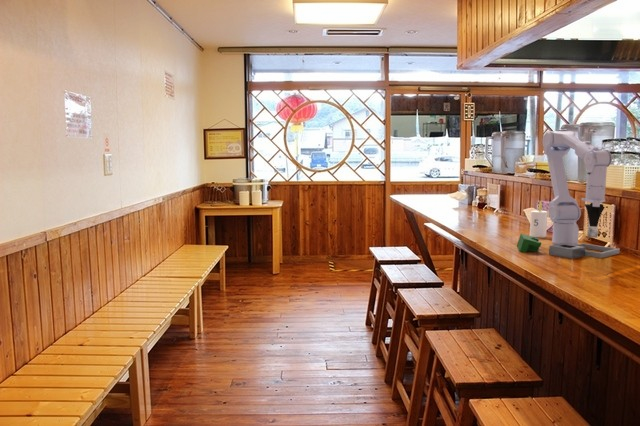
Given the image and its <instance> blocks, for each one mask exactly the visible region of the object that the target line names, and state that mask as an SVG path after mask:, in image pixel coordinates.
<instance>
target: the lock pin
mask: <svg viewBox="0 0 640 426" xmlns="http://www.w3.org/2000/svg"><path fill="white" fill-rule="evenodd" d="M587 220H588V221H587V222H588V223H587V238H598V234H599V231H598V230H599V224H598V225H597V227H594V226H590V224H589V217H588V216H587Z"/></svg>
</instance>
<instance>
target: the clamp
mask: <svg viewBox="0 0 640 426" xmlns="http://www.w3.org/2000/svg"><path fill="white" fill-rule="evenodd" d="M539 239H540V238H539V237H532V236H530V235H528V234H526V233H525V234H524V233H520V235H519V239H518V241H517V245H516V247H517V250H518V252H519V253H527V252H539V250H540V247H541V246H542V241H540V240H539Z"/></svg>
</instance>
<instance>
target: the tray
mask: <svg viewBox="0 0 640 426" xmlns="http://www.w3.org/2000/svg"><path fill="white" fill-rule="evenodd" d="M577 246H583V247H585V256H586V257H591V258H598V259H603V258H606V257H610V256H615V255H619V254H620V248H616V247H610V246H602V245H596V244H590V243H583V242H582V243H578V244H577ZM587 249H588V250H587ZM591 250H594V251H591ZM596 251H597V252H596ZM598 251H600V252H598Z"/></svg>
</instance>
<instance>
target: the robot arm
mask: <svg viewBox="0 0 640 426" xmlns="http://www.w3.org/2000/svg"><path fill="white" fill-rule="evenodd" d="M542 146H543V147H542V148H543V152H544V155H545V156H546V158H547V163H548V169H549V175H550V180H551V186H552V190H553V195H554V196H553V197H554V198H553V199H552V200H550V202H549V203H548V217H549V219H550V220H551V222H552V224H553V225H552V226H553V227H552V238H551V239H552V240H551V243H552V244H554V245H556V244H561V243H565V244H571V245H577V244H579V234H580V233H579V230H580V229H579V225H578V224H577V223H578V222H577V221H579V220H580V218H581V215H582V211H581V208H580V206H579V204H578V200H577V199H576V198H574V197H572V196H571V195H570V190H569V185H568V181H567V176H566V170H565V169H566V168H565V165H564V161H563V157H564V156H566V155H567V154H568V153H569V151H571V149H573V150H574V154H575V155H576V156H577V157H579V158H580V159H581V160H583V162H584V167H585V172H586V188H585V198H583V197H581V199H580V201H583V202H584V201H585V202H588V203H589V204H588V203H587V204H586V203H585V204H584V206H585V208H586V213H587V218H588V217H589V224H590V226H594V227H597V225H598V226H599V222H600V221H599V220H600V219H601V215H602V213H603V211H604V210H605V206H604V204H603V203H605V202H606V199H605V197H606V185H607V184H606V182H607V173H608V171H607V170H608V169H607V168H608V167H609V166H610V165H611V164H612V159H613V156H612V153H611V152H610V151H609V150H608V149H603V150H601V149H600V148H599V147H598V146H595V145H593V144H592V142H591V141H590V140H585V141H581V140H580V139H579V137H577V136H576V133H575V132H574V131H573V130H572V131H571V130H565V131H564V130H560V131H559V130H557V131H555V130H553V131H551V130H547V131H546V132H544V134H543V138H542Z"/></svg>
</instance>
